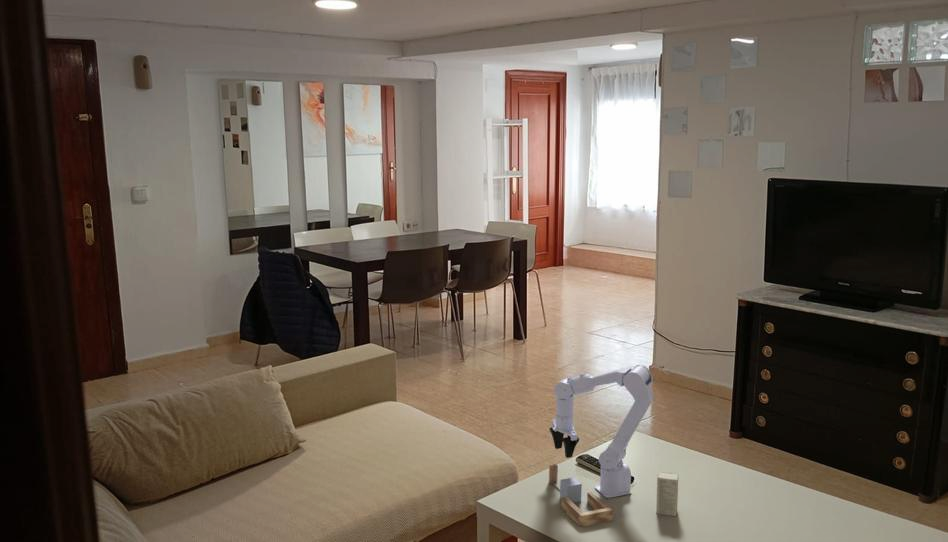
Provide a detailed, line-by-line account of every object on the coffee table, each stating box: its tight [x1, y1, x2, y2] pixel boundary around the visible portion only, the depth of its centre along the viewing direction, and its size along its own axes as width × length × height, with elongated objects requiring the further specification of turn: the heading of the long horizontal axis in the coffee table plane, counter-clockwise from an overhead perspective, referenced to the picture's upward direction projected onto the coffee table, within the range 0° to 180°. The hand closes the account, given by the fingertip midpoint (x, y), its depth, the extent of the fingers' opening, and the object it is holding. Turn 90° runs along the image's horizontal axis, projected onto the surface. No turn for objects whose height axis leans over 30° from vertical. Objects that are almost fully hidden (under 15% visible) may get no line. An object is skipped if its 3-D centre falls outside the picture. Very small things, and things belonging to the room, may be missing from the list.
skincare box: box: [655, 471, 679, 517], centre depth 237 cm, size 6×4×12 cm
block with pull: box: [548, 463, 583, 504], centre depth 251 cm, size 5×16×6 cm, turn 21°
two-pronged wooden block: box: [560, 491, 614, 527], centre depth 236 cm, size 11×13×4 cm
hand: (563, 452), depth 258 cm, fingers open, 7 cm apart
